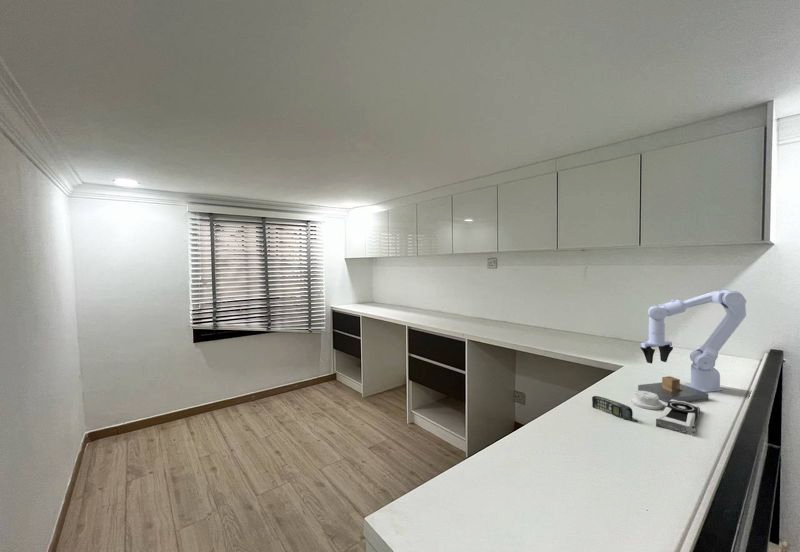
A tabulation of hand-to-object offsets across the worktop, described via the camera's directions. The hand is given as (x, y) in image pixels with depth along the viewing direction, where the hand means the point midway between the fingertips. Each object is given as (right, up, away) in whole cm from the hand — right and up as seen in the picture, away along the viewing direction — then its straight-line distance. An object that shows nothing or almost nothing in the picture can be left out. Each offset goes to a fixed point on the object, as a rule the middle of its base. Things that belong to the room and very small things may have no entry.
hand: (656, 362), depth 148 cm
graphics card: (-18, -12, -34) cm, 40 cm away
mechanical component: (-21, -11, -21) cm, 32 cm away
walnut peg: (-5, -10, -13) cm, 17 cm away
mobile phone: (-38, -12, -28) cm, 49 cm away
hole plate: (-4, -10, -14) cm, 18 cm away
